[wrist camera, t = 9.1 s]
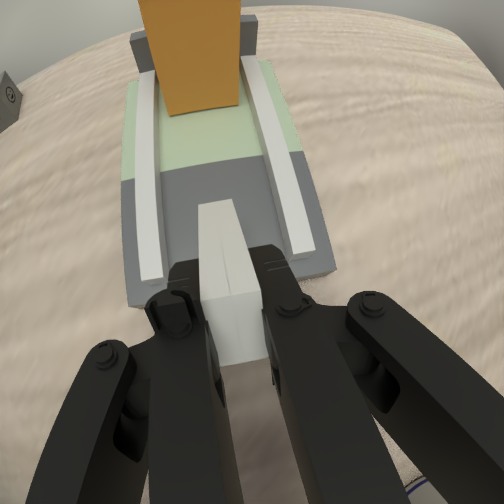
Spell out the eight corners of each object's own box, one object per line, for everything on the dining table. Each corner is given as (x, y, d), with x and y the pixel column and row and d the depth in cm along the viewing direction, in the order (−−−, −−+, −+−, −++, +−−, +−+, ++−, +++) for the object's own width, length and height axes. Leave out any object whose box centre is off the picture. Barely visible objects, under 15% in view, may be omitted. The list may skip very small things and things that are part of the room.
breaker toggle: (240, 105, 18) (244, -38, 8) (167, 117, 18) (130, -21, 7) (231, 71, 19) (232, -53, 9) (166, 81, 19) (140, -39, 8)
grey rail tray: (326, 275, 18) (374, 245, 11) (139, 308, 17) (85, 297, 10) (267, 76, 22) (274, 14, 15) (134, 97, 21) (112, 39, 14)
